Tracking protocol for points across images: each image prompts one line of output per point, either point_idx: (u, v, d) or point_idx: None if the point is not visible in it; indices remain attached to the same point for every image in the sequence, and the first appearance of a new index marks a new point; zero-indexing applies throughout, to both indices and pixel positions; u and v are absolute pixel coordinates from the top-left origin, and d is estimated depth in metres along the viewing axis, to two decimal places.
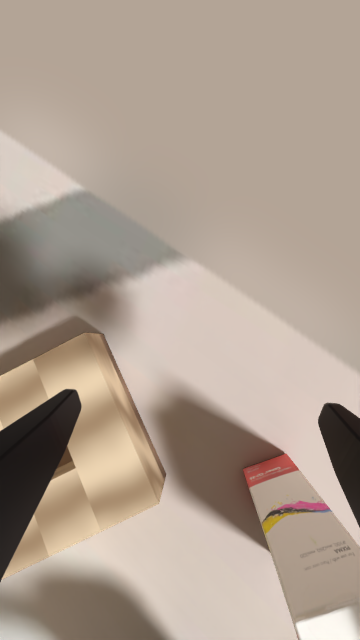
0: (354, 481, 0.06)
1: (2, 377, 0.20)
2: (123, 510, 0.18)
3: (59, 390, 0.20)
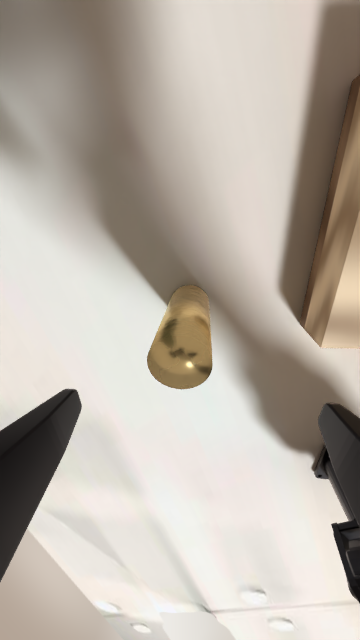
0: (354, 481, 0.06)
1: None
2: None
3: None
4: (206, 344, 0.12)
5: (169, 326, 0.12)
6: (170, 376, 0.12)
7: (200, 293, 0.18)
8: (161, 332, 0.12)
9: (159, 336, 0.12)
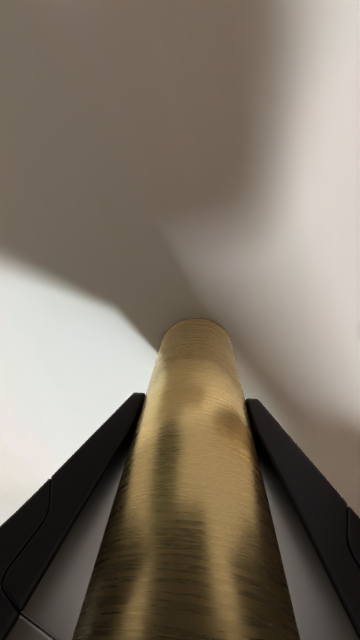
0: None
1: None
2: None
3: None
4: None
5: (146, 546, 0.03)
6: None
7: (221, 340, 0.09)
8: (116, 579, 0.03)
9: (102, 627, 0.03)
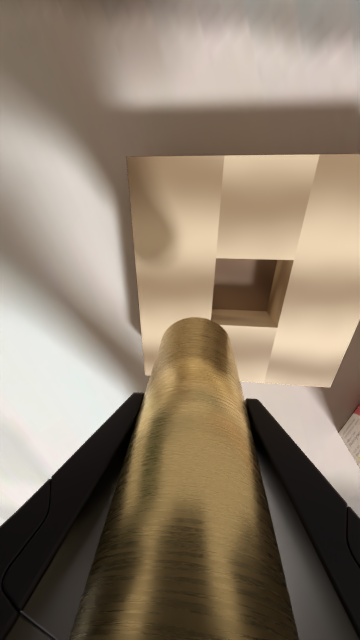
0: None
1: (253, 160, 0.12)
2: (295, 378, 0.18)
3: (322, 231, 0.13)
4: None
5: (144, 545, 0.03)
6: None
7: (220, 339, 0.09)
8: (113, 577, 0.03)
9: (99, 625, 0.03)
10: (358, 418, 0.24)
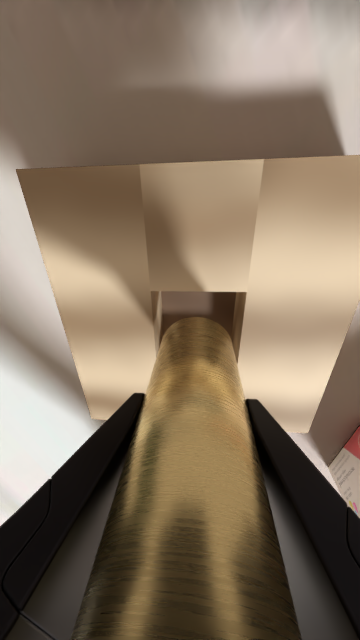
0: None
1: (178, 169, 0.09)
2: None
3: (278, 257, 0.10)
4: None
5: (145, 545, 0.03)
6: None
7: (221, 339, 0.09)
8: (115, 579, 0.03)
9: (101, 627, 0.03)
10: (348, 455, 0.21)
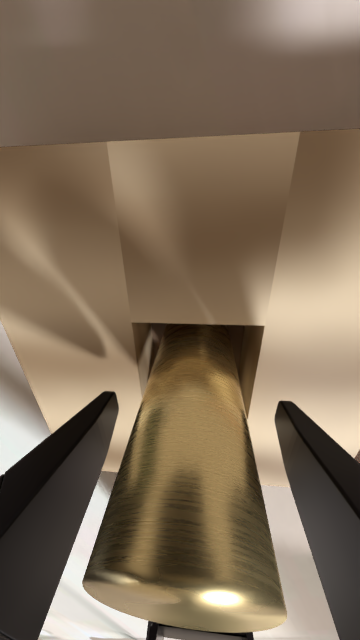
0: (297, 476, 0.06)
1: (165, 149, 0.06)
2: (282, 479, 0.12)
3: (312, 279, 0.07)
4: (268, 558, 0.04)
5: (153, 472, 0.04)
6: (153, 613, 0.04)
7: (218, 327, 0.10)
8: (129, 495, 0.04)
9: (120, 523, 0.04)
10: None
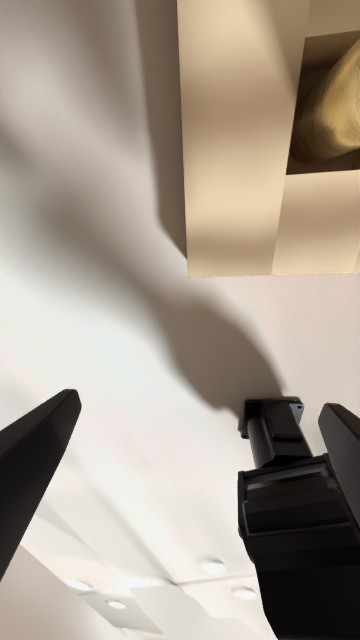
0: (354, 481, 0.06)
1: None
2: None
3: None
4: None
5: None
6: None
7: None
8: None
9: None
10: None
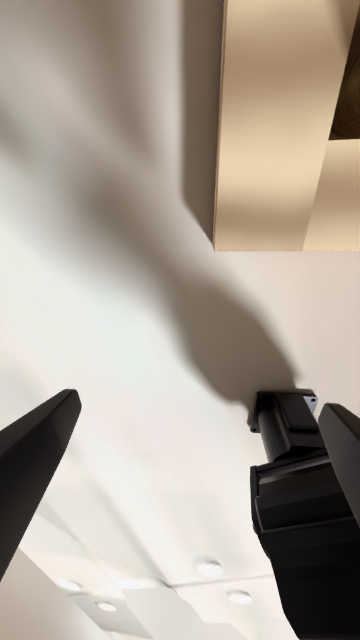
0: (354, 481, 0.06)
1: None
2: None
3: None
4: None
5: None
6: None
7: None
8: None
9: None
10: None
